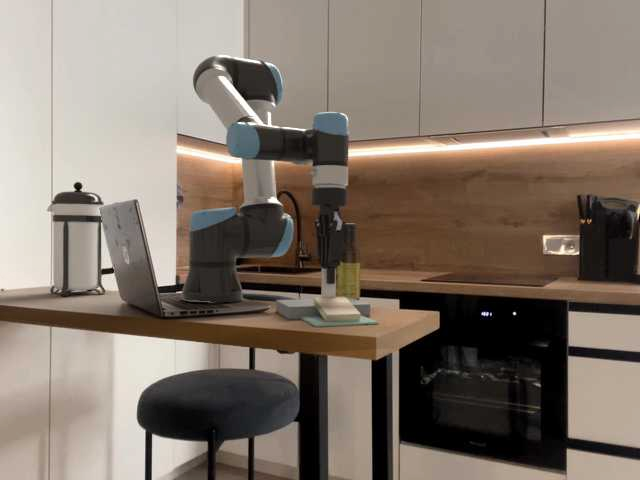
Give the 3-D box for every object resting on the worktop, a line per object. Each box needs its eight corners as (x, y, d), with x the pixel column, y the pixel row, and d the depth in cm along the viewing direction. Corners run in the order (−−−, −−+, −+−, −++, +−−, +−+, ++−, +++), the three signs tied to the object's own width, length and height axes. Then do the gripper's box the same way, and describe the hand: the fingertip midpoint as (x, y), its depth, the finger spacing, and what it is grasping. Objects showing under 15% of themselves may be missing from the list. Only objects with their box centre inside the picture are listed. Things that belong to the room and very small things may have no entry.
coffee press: (91, 298, 148) (91, 179, 148) (34, 296, 151) (34, 179, 151) (125, 290, 166) (126, 184, 165) (74, 288, 168) (74, 184, 168)
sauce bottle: (338, 301, 148) (339, 223, 148) (362, 303, 146) (363, 223, 146) (331, 304, 142) (332, 223, 141) (356, 306, 140) (357, 223, 139)
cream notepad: (313, 304, 122) (313, 297, 122) (344, 303, 125) (345, 296, 124) (326, 322, 114) (327, 315, 114) (359, 320, 116) (360, 313, 116)
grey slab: (276, 311, 130) (276, 300, 130) (351, 308, 136) (351, 297, 136) (289, 319, 120) (289, 306, 120) (370, 315, 125) (370, 304, 125)
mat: (300, 318, 120) (300, 316, 120) (359, 316, 125) (359, 314, 125) (315, 326, 111) (315, 324, 111) (378, 324, 115) (378, 322, 115)
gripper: (304, 188, 128) (302, 295, 129) (322, 184, 116) (321, 303, 117) (336, 189, 131) (334, 294, 131) (358, 186, 118) (356, 302, 119)
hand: (328, 298), depth 124 cm, fingers closed
